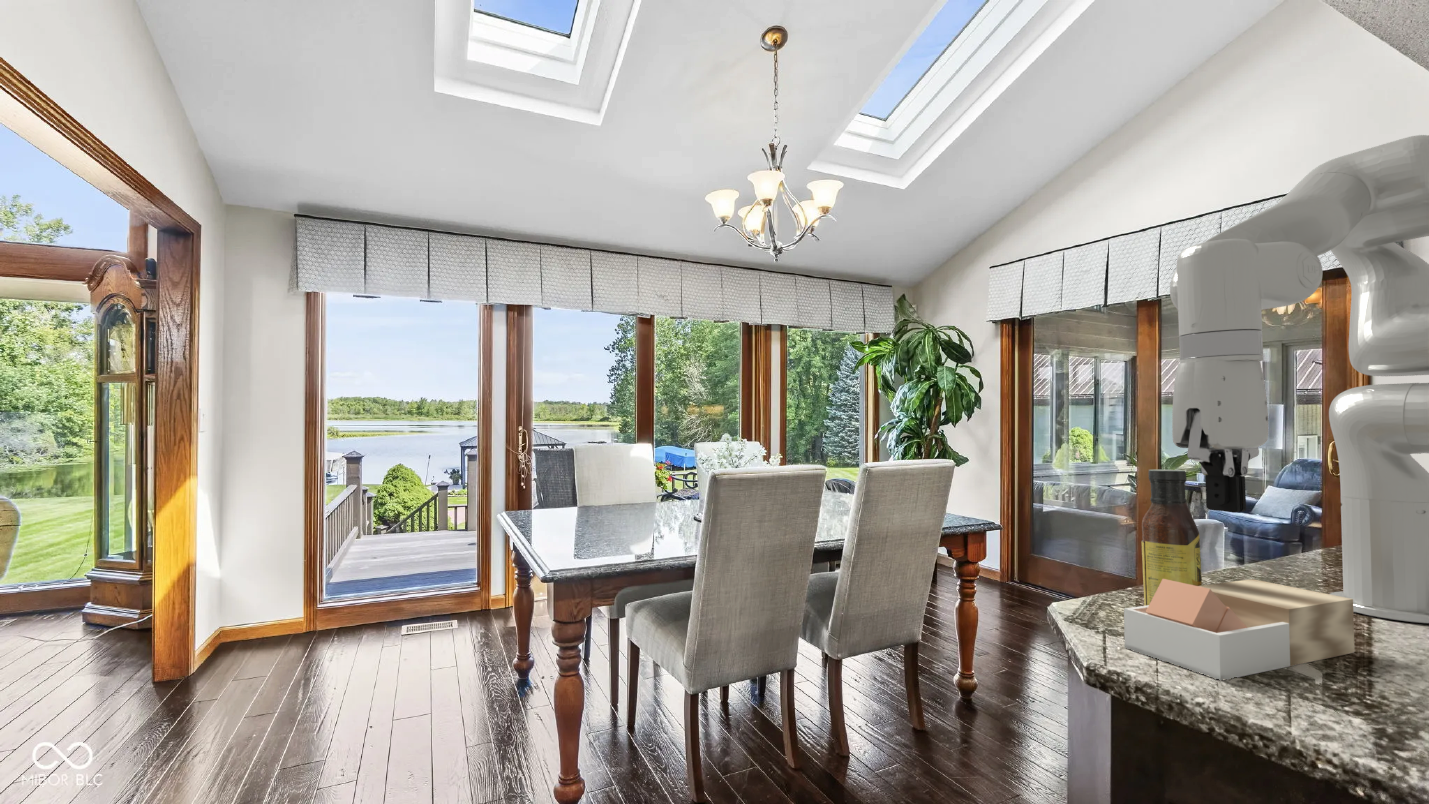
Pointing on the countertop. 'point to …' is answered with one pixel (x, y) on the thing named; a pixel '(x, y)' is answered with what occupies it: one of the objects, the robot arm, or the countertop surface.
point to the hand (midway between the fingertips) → (1226, 510)
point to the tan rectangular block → (1294, 616)
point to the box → (1208, 645)
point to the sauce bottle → (1169, 535)
